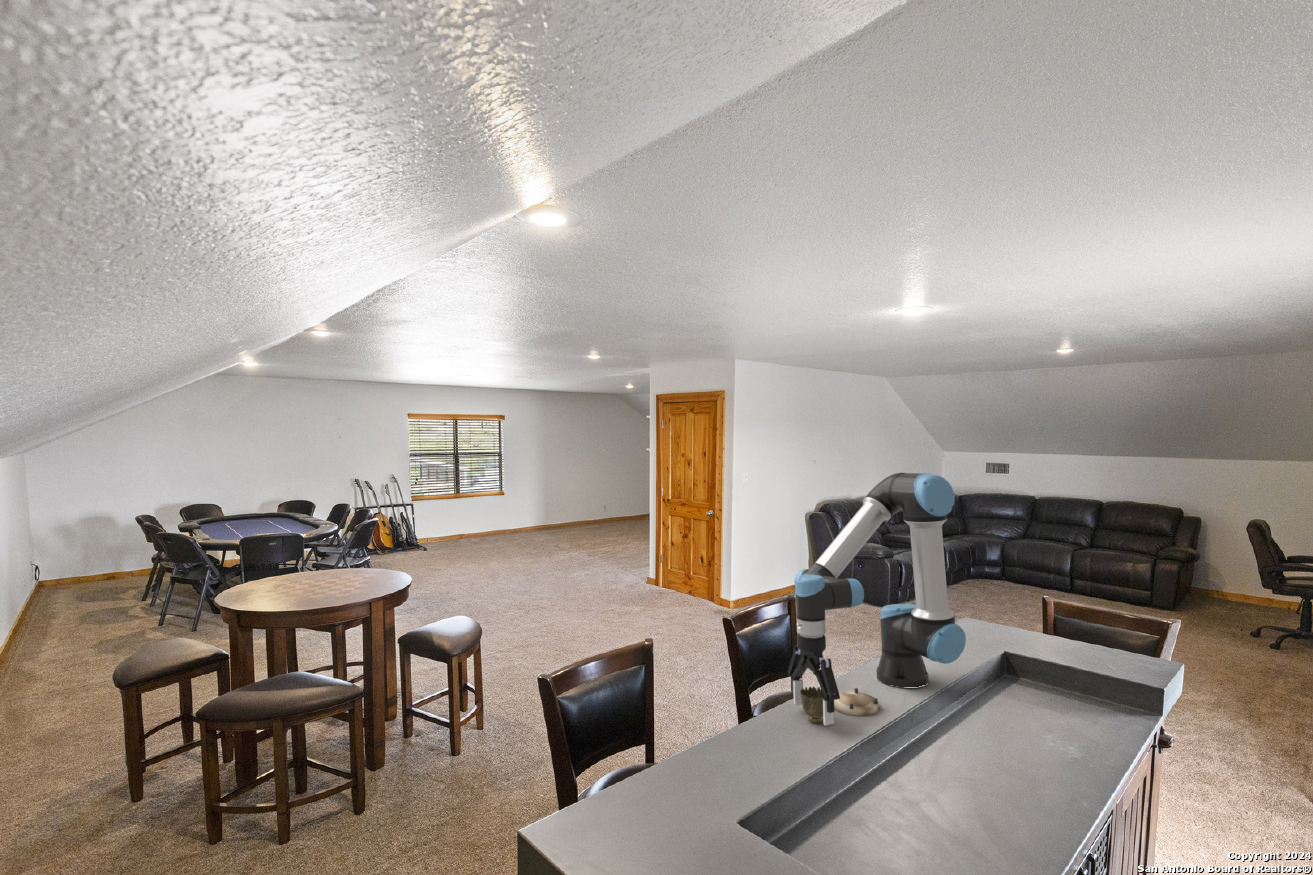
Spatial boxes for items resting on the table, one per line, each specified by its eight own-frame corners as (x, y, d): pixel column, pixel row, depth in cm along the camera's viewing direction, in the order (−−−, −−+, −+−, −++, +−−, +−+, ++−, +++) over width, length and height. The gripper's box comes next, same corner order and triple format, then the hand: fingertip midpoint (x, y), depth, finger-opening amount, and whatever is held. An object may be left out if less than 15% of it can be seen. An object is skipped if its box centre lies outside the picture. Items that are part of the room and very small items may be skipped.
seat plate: (857, 693, 185) (857, 684, 185) (888, 710, 173) (888, 700, 173) (820, 701, 181) (820, 691, 181) (850, 718, 168) (849, 708, 169)
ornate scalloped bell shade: (833, 727, 164) (832, 696, 164) (804, 727, 164) (803, 697, 164) (825, 715, 171) (825, 685, 171) (798, 715, 171) (797, 686, 172)
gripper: (774, 623, 179) (775, 698, 178) (828, 649, 155) (830, 735, 155) (796, 620, 181) (798, 694, 181) (852, 645, 158) (855, 730, 158)
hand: (813, 713), depth 168 cm, fingers open, 13 cm apart
